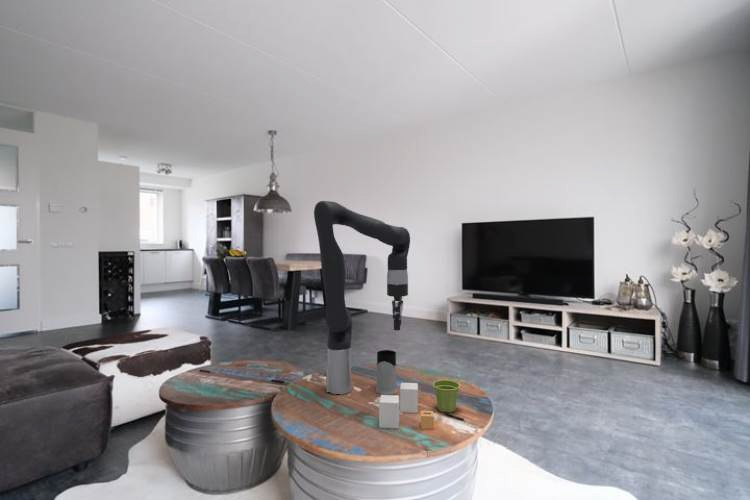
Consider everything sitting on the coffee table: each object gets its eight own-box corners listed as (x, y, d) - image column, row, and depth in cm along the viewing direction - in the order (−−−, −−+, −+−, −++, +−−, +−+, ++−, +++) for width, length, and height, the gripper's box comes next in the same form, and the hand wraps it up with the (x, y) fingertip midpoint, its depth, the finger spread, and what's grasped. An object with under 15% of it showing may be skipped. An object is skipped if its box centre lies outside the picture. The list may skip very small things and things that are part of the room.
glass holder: (373, 393, 146) (373, 355, 146) (381, 380, 160) (381, 345, 160) (395, 395, 144) (395, 356, 144) (401, 382, 158) (401, 346, 158)
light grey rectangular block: (400, 411, 129) (400, 388, 129) (401, 404, 135) (400, 382, 135) (417, 412, 129) (417, 389, 128) (417, 405, 134) (417, 383, 134)
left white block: (379, 427, 118) (379, 402, 118) (381, 418, 124) (381, 394, 124) (398, 428, 117) (398, 403, 117) (399, 419, 123) (399, 395, 123)
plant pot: (444, 417, 125) (444, 391, 125) (427, 406, 133) (427, 382, 133) (465, 411, 129) (465, 386, 129) (448, 401, 138) (448, 378, 138)
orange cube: (421, 428, 117) (421, 415, 117) (420, 422, 121) (420, 410, 121) (434, 429, 117) (433, 416, 117) (433, 423, 121) (433, 410, 121)
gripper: (388, 280, 141) (388, 323, 142) (385, 284, 127) (385, 331, 127) (408, 280, 141) (408, 323, 141) (407, 284, 126) (407, 332, 127)
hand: (397, 327), depth 134 cm, fingers open, 8 cm apart
